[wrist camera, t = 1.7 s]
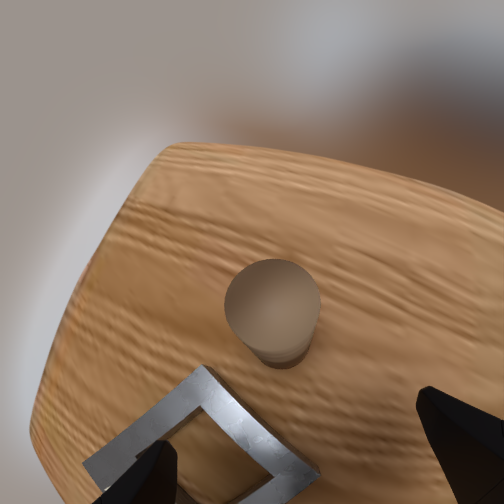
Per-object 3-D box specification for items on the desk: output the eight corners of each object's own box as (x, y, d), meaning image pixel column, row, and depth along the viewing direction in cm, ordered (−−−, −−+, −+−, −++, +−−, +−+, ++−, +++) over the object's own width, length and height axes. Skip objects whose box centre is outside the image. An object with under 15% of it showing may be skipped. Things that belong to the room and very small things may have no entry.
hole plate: (318, 466, 15) (321, 476, 13) (180, 550, 11) (168, 562, 9) (211, 367, 20) (200, 363, 18) (98, 460, 16) (79, 463, 14)
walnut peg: (320, 340, 20) (340, 297, 12) (282, 380, 19) (272, 370, 11) (281, 305, 22) (270, 243, 14) (243, 343, 21) (205, 303, 13)
